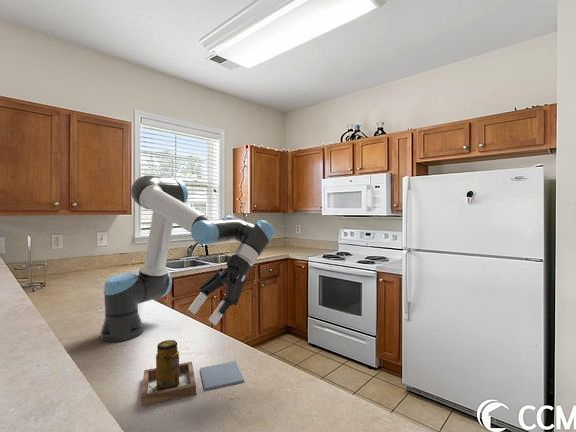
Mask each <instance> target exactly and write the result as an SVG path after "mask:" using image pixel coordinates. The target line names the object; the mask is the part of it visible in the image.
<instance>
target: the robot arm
mask: <svg viewBox="0 0 576 432" xmlns="http://www.w3.org/2000/svg"><path fill="white" fill-rule="evenodd" d="M130 194H131V198H132V199H133V201H134V202H135V203H136V204H137V205H138V206H140V207H141V208H143V209H146V210H151V211H152V214H151V215H152V216H151V223H150V226H149V235H148V240H147V245H146V252H145V259H144V264H143V265H142V266H140V267H139V270H138V274H136V273H134V272H128V273H127V272H126V273H121V274H120V273H119V274H117V275H114V276H112V277H109V278H108V279H107V280H106V281H105V282H104V288H103V289H104V290H103V294H104V295H103V296H104V316H105V317H104V320H103V323H102V327H101V330H100V334H99V335H100V340H101V341H103V342H107V343H115V342H116V343H117V342H123V341H127V340H132V339H134V338H137V337H138V336H140V335H142V334H143V332H144V324H143V322H142V318H141V317H140V314H139V304H142V303H146V302H149V301H152V300H157V299H160V298H162V297H165V296H166V295H168V294H169V293H170V291H171V288H172V284H173V280H172V279H173V278H172V276H171V274H170V272H169V268H167V267H166V265H167V260H168V254H169V248H170V243H171V238H172V237H171V236H172V232H173V225H174V224H175V225H177V226H180V227H181V228H182V229H184V230H186V231H187V232H189V233H190V235H191V237H192V239H193V240H194V242H195V243H196V244H199V245H212V244H216V243H223V242H228V241H236V242H238V243H240V244H239V245H238V246H237V248H236V249H235V251H234V252H233V254H232V255H231V256H230V257H229V259H228V260H227V261H226V266H227V267H226V268H225V270H224V268H222V267H221V268H219V269H218V270H217V271H216V273H214V274H213V275H212V276H211V277H210V278H209V279H208V280H206V281H205V282H204V283H203V284H201V285H200V287H199V289H198V290H200V293H199V294H198V295H197V296H196V298H195V299H194V301H193V302H192V303H191V304H190V306H189V307H188V308H187V310H188V311H189V312H190V313H192V314H193V315H196V313H197V312H198V311H199V309H200V308H201V307H202V305H203V304H204V303H205V301H206V300H207V299H208V298H209V295H210V294H211V293H213V292H214V291H216V290H218V289H219V288H220V287H224V286H226V290H225V295H224V296H225V297H224V298H223V299H222V300H221V301H220V303H219V304H218V305H217V307H216V308H215V310H214V311H213V313H212V314H211V315H210V316H209V318H208V321H209V322H210V323H211V324H212V325H214V326H217V324H218V323H219V322H220V320H221V318H223V315H224V314H225V313H226V312H227V311H228V310H229V308H230V307H231V306H233V305H234V306H237V305H238V303H239V300H240V298H241V294H242V291H243V288H244V286H245V283H246V281H247V280H248V277H247V274H248V273H249V271H250V270H251V267H253V266H254V264H255V263H256V262H257V260H258V258H259V257H260V256H261V254H262V253H263V251H264V250H265V249H266V247H267V246H268V245H269V243H271V240H272V238H274V236H275V228H274V227H273V226H272V225H271V223H270V222H267V221H266V220H262V219H260V220H258V221H256V223H250V222H248V221H245V220H244V219H240V218H238V217H237V216H233V215H225V216H224V217H222V218H221V219H214V218H212V217H210V216H208V215H206V214H205V213H203V212H201V211H199V210H197V209H195V208H193V207H192V206H190V205H188V204H186V203H187V201H188V200H189V199H188V198H189V191H188V188H187V186H186V183H185V182H184V181H183V180H181V179H179V178H176V177H171V176H159V175H158V176H156V175H143V176H140V177H138V178H137V179H135V181H134V182H132V185H131V189H130Z"/></svg>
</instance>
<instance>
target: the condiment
mask: <svg viewBox="0 0 576 432" xmlns="http://www.w3.org/2000/svg"><path fill="white" fill-rule="evenodd" d="M156 348H157V349H156V352H157V353H156V355H155V366H156V367H155V368H156V378H155V379H156V380H155V381H156V382H155V383H152V384H150V385H149V386H150V387H151V388H152V389H153V390H154V392H156V391H161V390H166V389H171V388H176V387H180V386H185V385H187V383H185V382H184V381H182V380H181V379H180V374H179V364H180V353H179V350H178V342H177V341H176V340H174V339H167V340H163V341H161V342H159V343H158V344H157V345H156Z"/></svg>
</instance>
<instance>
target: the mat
mask: <svg viewBox="0 0 576 432" xmlns="http://www.w3.org/2000/svg"><path fill="white" fill-rule="evenodd" d="M199 371H200V376H201V381H202V385H203V389H204V391H208V390H213V389H218V388H223V387H227V386H232V385H236V384H240V383H245V379H244V376H243V374H242V372H241V370H240V368H239V366H238V364H237V362H236V361H229V362H225V363H219V364H213V365H209V366H204V367H203V366H202V367H200V368H199Z"/></svg>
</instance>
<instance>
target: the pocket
mask: <svg viewBox="0 0 576 432" xmlns="http://www.w3.org/2000/svg"><path fill="white" fill-rule="evenodd" d="M186 373H187V374H188V379H189V384H186V385H185V386H180V387H176V388H171V389H166V390H161V391H151V392H148V391H149V381H150V380H155V379H156V367H154V368H149V369H145V370H144V371H143V376H142V377H143V379H142V385H141V386H142V387H141V392H140V407H141V408H142V407H147V406H152V405H157V404H161V403H165V402H169V401H170V402H171V401H175V400H180V399H184V398H189V397H192V396H193V397H194V396H196V395H197V383H196V377H195V372H194V367H193V361H187V362H182V363H179V375H180V374H186Z"/></svg>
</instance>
